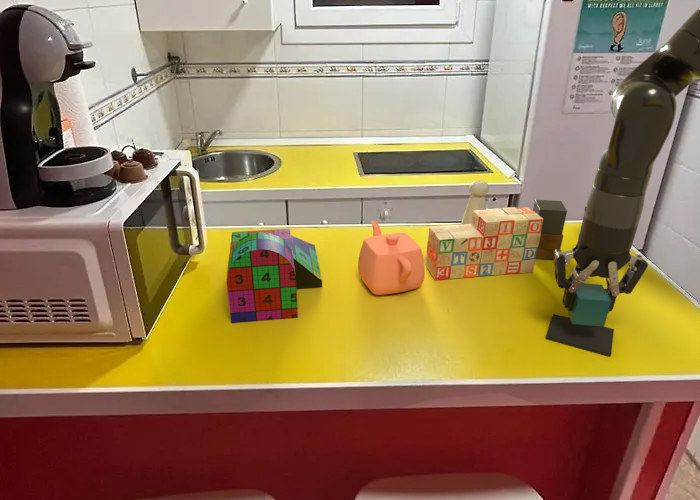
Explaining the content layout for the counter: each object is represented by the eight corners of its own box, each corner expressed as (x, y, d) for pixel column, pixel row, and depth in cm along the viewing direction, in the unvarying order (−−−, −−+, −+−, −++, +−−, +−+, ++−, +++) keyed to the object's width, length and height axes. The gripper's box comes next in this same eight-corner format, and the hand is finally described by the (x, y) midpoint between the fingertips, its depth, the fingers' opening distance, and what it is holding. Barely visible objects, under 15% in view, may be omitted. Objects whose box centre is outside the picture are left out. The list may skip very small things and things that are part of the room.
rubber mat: (613, 331, 89) (614, 329, 89) (610, 357, 83) (611, 354, 83) (552, 316, 93) (553, 313, 93) (545, 339, 87) (546, 336, 87)
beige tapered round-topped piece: (465, 240, 120) (472, 188, 114) (456, 230, 125) (462, 179, 119) (489, 238, 121) (497, 186, 115) (478, 228, 126) (485, 177, 120)
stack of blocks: (434, 281, 104) (440, 225, 98) (425, 266, 109) (429, 212, 103) (533, 272, 107) (544, 217, 101) (519, 258, 113) (529, 205, 107)
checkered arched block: (328, 315, 93) (327, 244, 86) (231, 323, 91) (223, 251, 84) (314, 250, 115) (313, 190, 108) (236, 255, 112) (230, 194, 106)
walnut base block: (552, 247, 117) (557, 223, 114) (558, 260, 112) (563, 235, 109) (524, 246, 118) (529, 222, 115) (529, 258, 113) (534, 233, 110)
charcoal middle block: (556, 224, 114) (561, 200, 112) (562, 234, 109) (567, 210, 107) (530, 222, 115) (534, 199, 112) (535, 233, 110) (539, 209, 107)
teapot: (378, 310, 94) (380, 260, 90) (346, 264, 110) (346, 219, 105) (435, 299, 98) (440, 250, 93) (396, 256, 113) (398, 212, 108)
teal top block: (595, 309, 88) (602, 284, 86) (603, 326, 84) (611, 300, 82) (564, 307, 89) (571, 282, 87) (572, 324, 85) (578, 298, 82)
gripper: (568, 223, 75) (545, 319, 83) (672, 230, 74) (639, 327, 82) (556, 203, 82) (537, 294, 90) (652, 209, 81) (623, 301, 88)
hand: (585, 309), depth 86 cm, fingers closed on teal top block, 5 cm apart
